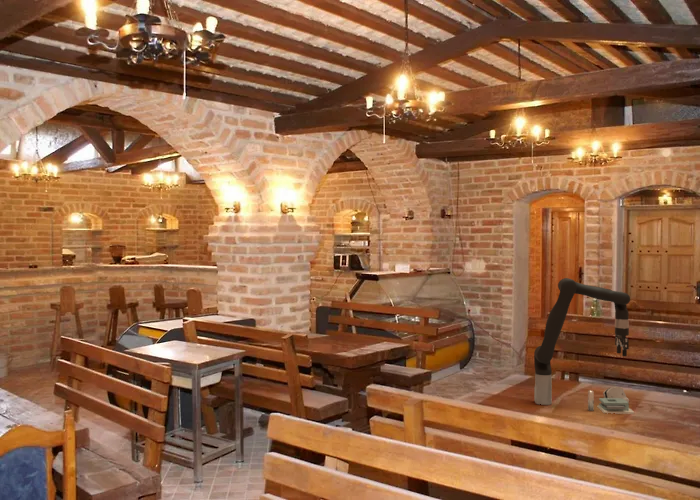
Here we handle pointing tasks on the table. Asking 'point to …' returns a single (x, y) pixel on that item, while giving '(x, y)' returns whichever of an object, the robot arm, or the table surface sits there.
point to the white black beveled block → (615, 393)
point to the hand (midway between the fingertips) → (621, 354)
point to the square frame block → (614, 406)
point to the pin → (590, 400)
